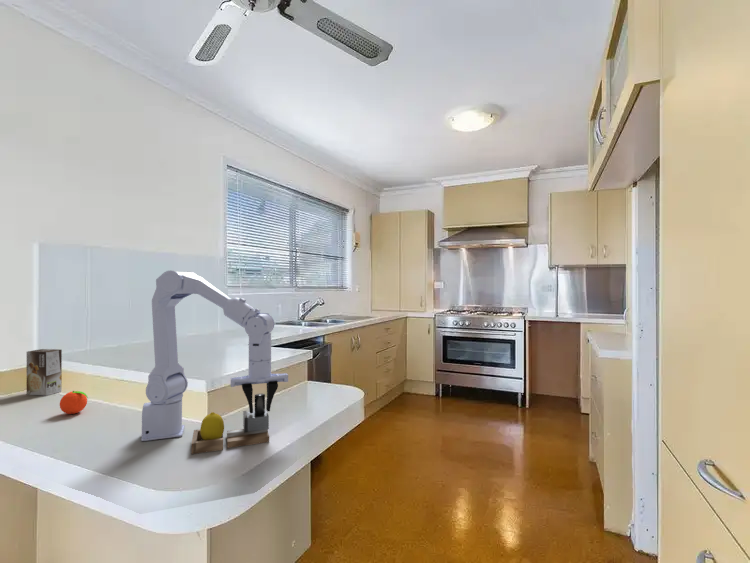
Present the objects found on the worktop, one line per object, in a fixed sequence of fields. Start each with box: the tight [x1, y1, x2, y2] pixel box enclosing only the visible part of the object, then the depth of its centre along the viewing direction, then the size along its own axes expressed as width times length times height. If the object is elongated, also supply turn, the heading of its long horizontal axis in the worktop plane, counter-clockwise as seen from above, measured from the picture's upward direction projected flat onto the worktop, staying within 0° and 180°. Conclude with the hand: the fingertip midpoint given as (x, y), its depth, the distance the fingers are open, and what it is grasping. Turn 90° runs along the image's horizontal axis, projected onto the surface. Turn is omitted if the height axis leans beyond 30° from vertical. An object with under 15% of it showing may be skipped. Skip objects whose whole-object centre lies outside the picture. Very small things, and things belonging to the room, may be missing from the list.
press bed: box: [226, 428, 270, 449], centre depth 102 cm, size 10×8×2 cm
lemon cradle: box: [190, 428, 224, 455], centre depth 98 cm, size 7×10×2 cm
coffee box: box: [26, 348, 63, 396], centre depth 147 cm, size 9×6×16 cm
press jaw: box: [242, 393, 270, 433], centre depth 103 cm, size 6×6×8 cm
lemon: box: [200, 411, 225, 441], centre depth 99 cm, size 6×6×8 cm
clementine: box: [59, 390, 89, 415], centre depth 123 cm, size 8×7×7 cm
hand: (259, 411), depth 103 cm, fingers open, 4 cm apart
